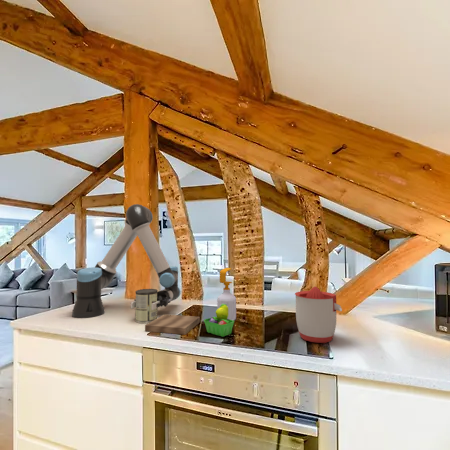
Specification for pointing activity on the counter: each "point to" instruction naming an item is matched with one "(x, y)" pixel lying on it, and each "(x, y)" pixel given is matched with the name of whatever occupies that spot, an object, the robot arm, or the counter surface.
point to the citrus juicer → (316, 315)
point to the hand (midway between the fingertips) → (141, 306)
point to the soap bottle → (227, 296)
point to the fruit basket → (220, 322)
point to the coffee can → (145, 305)
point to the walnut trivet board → (172, 324)
